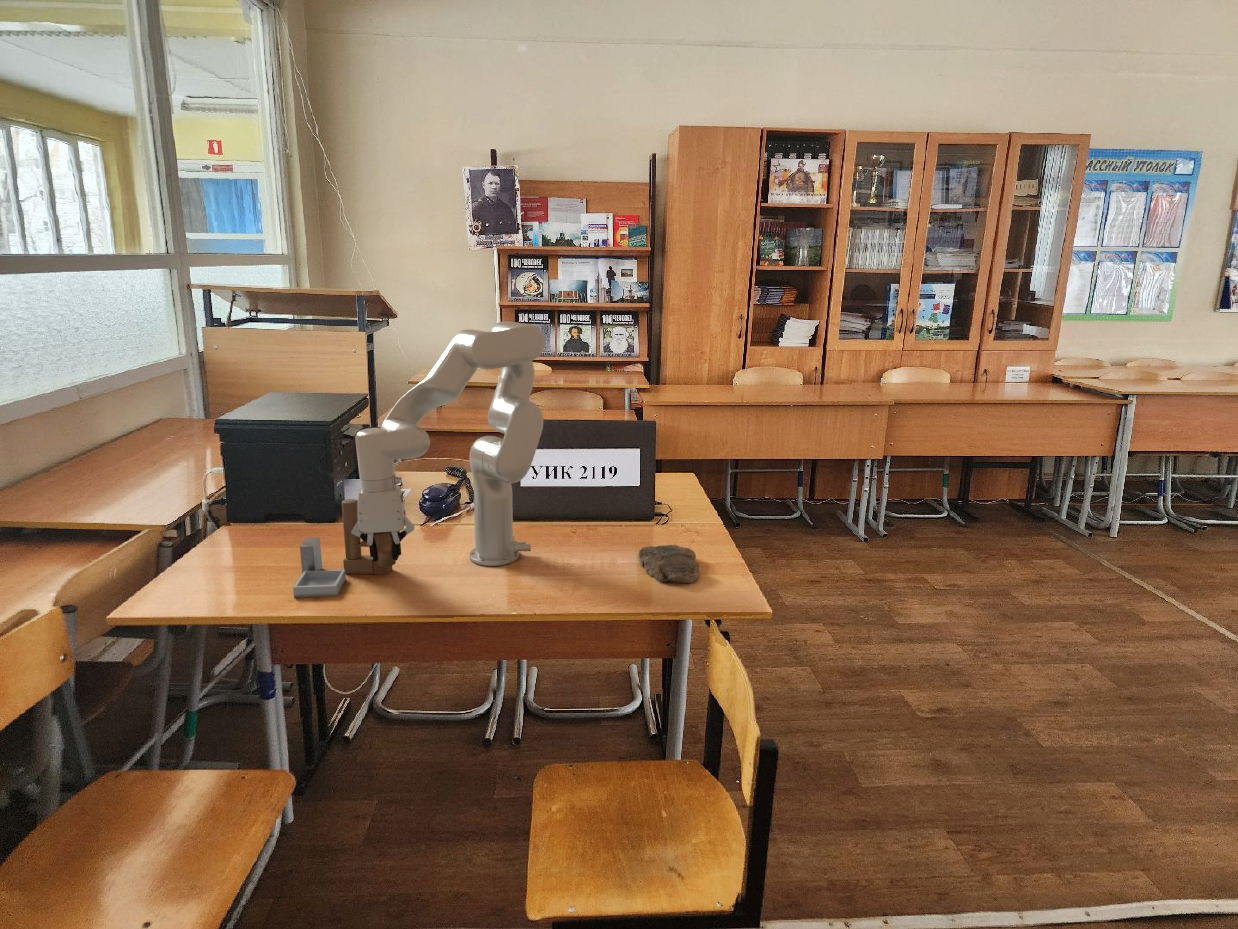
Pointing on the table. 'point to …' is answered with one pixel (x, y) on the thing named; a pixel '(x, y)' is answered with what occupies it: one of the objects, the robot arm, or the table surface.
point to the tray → (319, 583)
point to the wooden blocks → (357, 545)
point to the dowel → (384, 549)
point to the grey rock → (670, 563)
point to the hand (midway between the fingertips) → (386, 558)
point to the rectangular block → (311, 555)
